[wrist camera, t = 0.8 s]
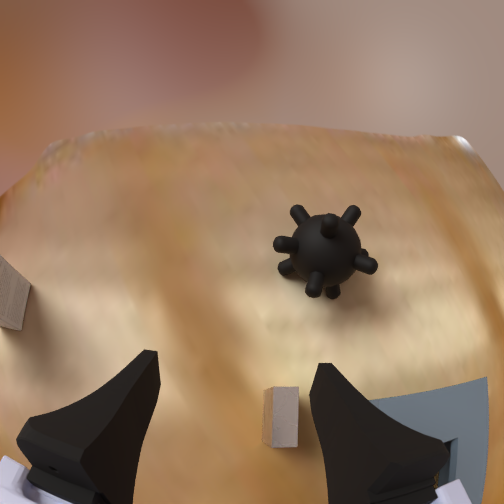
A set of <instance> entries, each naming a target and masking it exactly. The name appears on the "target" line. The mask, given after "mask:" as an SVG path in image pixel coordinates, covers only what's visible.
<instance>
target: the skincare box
mask: <svg viewBox="0 0 504 504" xmlns="http://www.w3.org/2000/svg"><path fill="white" fill-rule="evenodd" d="M30 285H31V283H30V282H29V281H28V280H27V279H25V278H24V277H23V276H22V275H21V274H20V273H19V272H18V271H17V270H15V269H14V268H13V267H12V266H11V265H10V264H9V263H8V262H7V261H6V260H5V259H4V258H3V257H2V256H1V255H0V326H1V327H6V328H10V329H14V330H18V331H21V330H22V324H23V318H24V313H25V308H26V303H27V298H28V294H29V289H30Z"/></svg>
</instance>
